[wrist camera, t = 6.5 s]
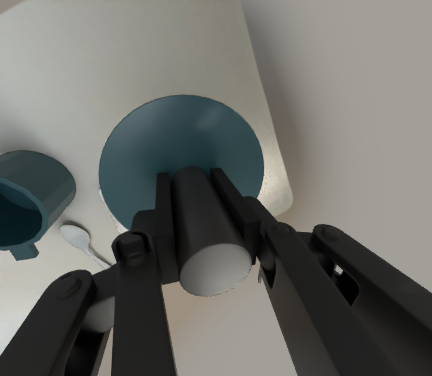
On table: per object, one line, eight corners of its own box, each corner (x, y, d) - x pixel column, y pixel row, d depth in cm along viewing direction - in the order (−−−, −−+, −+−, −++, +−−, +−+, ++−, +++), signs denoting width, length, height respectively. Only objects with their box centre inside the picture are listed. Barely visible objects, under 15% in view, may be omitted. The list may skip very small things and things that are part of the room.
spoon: (76, 216, 36) (72, 221, 35) (131, 278, 46) (130, 284, 45) (54, 224, 36) (50, 230, 34) (115, 285, 46) (113, 291, 45)
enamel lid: (265, 94, 14) (405, 98, 6) (251, 226, 19) (313, 319, 11) (78, 94, 11) (-127, 101, 3) (124, 247, 17) (90, 389, 9)
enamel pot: (56, 131, 29) (14, 146, 21) (88, 219, 37) (67, 255, 29) (-38, 134, 27) (-126, 153, 18) (19, 228, 34) (-26, 271, 26)
